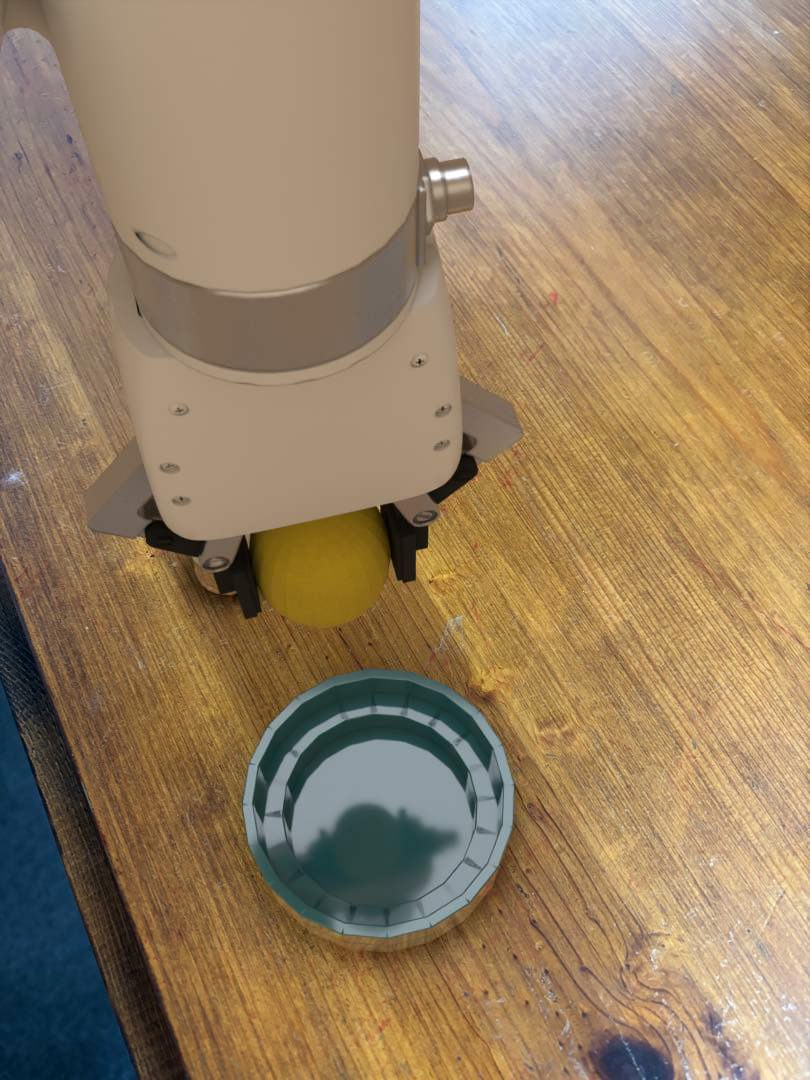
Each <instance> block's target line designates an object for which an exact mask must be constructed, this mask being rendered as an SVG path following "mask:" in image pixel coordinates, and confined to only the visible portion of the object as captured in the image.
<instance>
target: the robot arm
mask: <svg viewBox="0 0 810 1080" xmlns="http://www.w3.org/2000/svg"><path fill="white" fill-rule="evenodd" d="M19 28H21V29H29V30H31V31H34V32H37V33H38V34H39V35H40V36H42V37H43V38H44V39H45V40H46V41H47V42H48V43H49V44H50V46H51V48H52V49H53V52H54V53H55V56H56V59H57V62H58V65H59V67H60V72H61V74H62V77H63V81H64V83H65V87H66V90H67V92H68V96H69V98H70V101H71V105H72V107H73V111H74V114H75V117H76V120H77V123H78V126H79V130H80V133H81V136H82V138H83V141H84V144H85V148H86V150H87V154H88V157H89V160H90V162H91V163H90V164H91V167H92V169H93V172H94V175H95V179H96V181H97V185H98V188H99V190H100V193H101V196H102V199H103V202H104V203H103V204H104V206H105V209H106V212H107V216H108V218H109V221H110V224H111V227H112V230H113V233H114V236H115V238H116V242H117V245H118V249H117V251H116V253H115V254H114V256H113V257H112V259H111V260H110V264H109V267H108V271H107V280H106V281H107V303H108V304H107V305H108V315H109V323H110V329H111V335H112V336H111V337H112V343H113V344H112V345H113V349H114V353H115V357H116V361H117V362H116V363H117V367H118V371H119V375H120V380H121V384H122V389H123V392H124V396H125V402H126V404H127V408H128V413H129V417H130V421H131V424H132V429H133V432H134V436H133V437H132V438H131V440H130V441H129V442H128V443H127V444H126V445H125V446H124V447H123V449H122V450H121V451H120V452H119V453H117V455H116V456H115V457H114V459H113V460H112V461H111V462H110V464H109V465H107V467H106V468H105V469H104V470H103V471H102V472H101V474H100V475H98V477H97V478H96V480H94V482H92V484H91V485H90V486H89V487H88V488H87V489H86V490H85V492H84V494H83V500H84V509H85V517H86V524H87V528H88V530H89V531H92V532H95V533H98V534H105V535H109V536H115V537H120V538H124V539H125V538H126V539H131V540H136V539H137V538H143V539H145V543H146V545H147V546H148V547H150V548H152V549H157V550H160V551H161V550H162V551H166V552H170V553H176V554H179V555H184V556H189V557H191V556H192V557H196V558H198V562H199V568H200V569H201V570H202V571H204V572H208V573H213V576H214V579H215V581H216V584H217V587H218V590H219V593H220V594H219V595H222V594H226V593H230V592H235V591H236V593H237V594H236V596H237V598H238V602H239V605H240V608H241V612H242V614H243V618H244V620H249V619H253V618H258V617H259V615H258V614H259V613H263V609H262V603H261V599H260V595H259V590H258V589H259V588H258V586H257V584H256V582H255V579H254V575H253V572H252V567H251V562H250V557H249V547H248V544H247V540H246V536H245V535H246V534H250V533H255V532H260V531H265V530H270V529H275V528H280V527H284V526H289V525H294V524H298V523H303V522H308V521H312V520H317V519H321V518H326V517H330V516H335V515H339V514H344V513H348V512H353V511H357V510H362V509H366V508H371V507H375V506H377V507H378V506H379V511H380V514H381V516H382V518H383V520H384V522H385V524H386V527H387V530H388V535H389V542H390V549H391V558H390V561H391V563H392V567H393V571H394V574H395V578H396V580H397V582H400V581H401V582H402V583H403V584H407V583H411V582H416V581H417V551H421V550H425V549H429V533H430V532H429V531H430V529H429V528H430V527H429V526H431V525H432V524H434V523H436V522H437V521H438V520H439V519H440V518H441V515H442V513H441V510H440V507H439V505H440V504H442V503H443V502H444V501H445V500H446V499H448V498H449V497H451V496H452V495H453V494H454V493H456V492H457V491H459V490H460V489H461V488H462V487H464V486H465V485H467V484H468V483H469V482H470V481H472V480H473V479H475V477H476V476H477V475H478V474H479V467H478V466H479V465H481V464H482V463H485V464H488V463H489V462H491V461H492V460H493V459H495V458H497V457H498V456H499V455H500V454H502V453H504V452H505V451H506V450H508V449H509V448H510V447H512V446H513V445H515V444H516V443H518V442H520V440H521V439H522V438H523V436H524V430H523V428H522V425H521V422H520V420H519V417H518V415H517V412H516V409H515V407H514V404H513V403H512V402H511V401H509V400H507V399H505V398H503V397H502V396H500V395H498V394H496V393H494V392H492V391H490V390H489V389H486V388H485V387H483V386H481V385H479V384H477V383H475V382H474V381H472V380H469V379H468V378H466V377H464V376H463V375H461V374H460V367H459V359H458V357H459V356H458V348H457V338H456V337H457V336H456V331H455V330H456V329H455V324H454V317H453V310H452V304H451V298H450V294H449V288H448V285H447V280H446V276H445V272H444V267H443V262H442V261H443V260H442V257H441V253H440V248H439V245H438V241H437V238H436V234H435V231H434V226H435V224H436V223H441V222H442V223H443V222H446V221H447V218H448V216H450V215H455V214H460V213H466V212H471V211H473V209H474V207H475V187H474V181H473V174H472V171H471V168H470V165H469V163H468V160H467V159H466V158H465V157H459V158H452V159H448V160H442V161H439V159H438V158H437V157H435V156H432V157H427V158H424V157H423V154H422V151H421V149H420V104H421V103H420V102H421V101H420V96H421V95H420V93H421V91H420V89H421V88H420V86H421V85H420V84H421V83H420V82H421V81H420V80H421V79H420V78H421V77H420V76H421V75H420V74H421V60H420V59H421V0H0V53H1V51H2V44H3V38H4V36H5V35H6V34H7V33H8V32H10V31H12V30H14V29H19ZM192 557H191V558H192Z"/></svg>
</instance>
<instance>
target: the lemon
mask: <svg viewBox="0 0 810 1080" xmlns="http://www.w3.org/2000/svg"><path fill="white" fill-rule="evenodd" d="M249 557H250V562H251V567H252V572H253V575H254V579H255V582H256V585H257V589H259V591H260V593H261V595H262V596H263V598H264V599H265V601H266V602H267V603H268V604H269V606H271V607H272V608H273V609H274V610H275V611H276V612H277V613H278V614H279V615H280V616H282V617H284V618H286V619H287V620H288V621H291V622H292V623H295V624H298V625H301V626H305V627H308V628H318V629H328V628H333V627H334V628H335V627H339V626H343V625H345V624H347V623H350V622H352V621H354V620H356V619H357V618H358V617H360V616H361V615H363V614H364V613H365V612H366V611H368V610H369V609H370V608H371V607H372V606H373V604H374V603H375V602H376V600H377V599H378V598H379V597H380V595H381V593H382V591H383V589H384V586H385V584H386V582H387V579H388V578H389V577H388V576H389V571H390V565H391V549H390V542H389V535H388V530H387V527H386V524H385V522H384V520H383V518H382V516H381V514H380V508H379V507H378V506H375V507H371V508H366V509H362V510H357V511H353V512H348V513H344V514H339V515H335V516H330V517H326V518H321V519H317V520H312V521H308V522H303V523H298V524H294V525H289V526H284V527H280V528H275V529H270V530H265V531H260V532H255V533H250V543H249Z"/></svg>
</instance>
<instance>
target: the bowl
mask: <svg viewBox="0 0 810 1080" xmlns="http://www.w3.org/2000/svg"><path fill="white" fill-rule="evenodd" d="M515 788H516V786H515V780H514V777H513V774H512V770H511V767H510V764H509V761H508V756H507V753H506V750H505V746H504V745H503V742H502V741H501V739H500V738H499V737H498V735H497V734H496V731H494V729H493V728H492V726H491V724H489V722H488V720H487V719H486V717H485V716H484V714H483V712H481V710H480V709H478V708H477V707H476V706H474V705H473V704H472V703H471V702H470V701H469V700H467V699H466V698H465V697H463V696H462V695H461V694H459V693H458V692H457V691H456V690H455V689H453V688H452V687H451V686H450V685H448V684H445V683H442V682H439V681H437V680H435V679H432V678H429V677H427V676H424V675H422V674H419V673H416V672H415V671H410V670H398V669H385V668H373V667H370V668H369V667H368V668H365V669H360V670H355V671H352V672H346V673H341V674H337V675H333V676H331V677H329V678H327V679H324V680H323V681H322V682H320V683H318V684H316V685H314V686H312V687H311V688H309V689H307V690H305V691H303V692H302V693H299V694H298V695H296V696H295V697H294V698H293V699H292V700H291V701H290V702H289V703H288V704H287V705H286V706H285V707H284V708H283V709H282V710H281V711H280V712H279V713H278V714H277V716H276V717H275V718H273V720H272V721H271V722H270V723H269V724H268V725H267V727H266V728H265V730H264V731H263V734H262V736H261V738H260V739H259V741H258V744H257V746H256V747H255V749H254V751H253V753H252V755H251V758H250V759H249V761H248V764H247V770H246V775H245V782H244V788H243V795H242V800H241V811H242V816H243V823H244V824H243V825H244V829H245V836H246V843H247V847H248V850H249V852H250V854H251V855H252V858H253V859H254V862H255V863H256V865H257V867H258V869H259V871H260V873H261V874H262V877H263V878H264V881H265V883H266V884H267V886H268V888H269V889H270V891H271V893H272V895H273V896H274V899H275V900H276V902H277V903H278V904H279V905H280V906H281V907H282V908H283V909H284V910H285V911H286V912H287V913H288V914H289V915H290V916H291V917H292V918H294V919H295V921H296V922H297V923H299V924H300V925H301V926H302V927H303V928H304V929H305V930H306V931H307V932H309V933H310V934H313V935H315V936H318V937H319V938H322V939H324V940H327V941H328V942H331V943H332V944H335V945H337V946H339V947H342V948H344V949H347V950H355V951H356V950H357V951H365V952H367V951H368V952H378V953H392V952H397V951H401V950H406V949H409V948H414V947H417V946H422V945H426V944H429V943H431V942H433V941H435V940H436V939H438V938H440V937H441V936H443V935H444V934H446V933H447V932H449V931H450V930H452V929H453V928H456V927H457V926H459V925H460V924H461V923H463V922H464V921H466V920H467V919H468V918H469V917H470V915H472V914H473V912H474V911H475V909H476V908H477V907H478V906H479V904H480V903H481V902H482V901H483V899H484V898H485V897H486V896H487V894H488V893H489V892H490V891H491V890H492V888H493V886H494V884H495V883H496V882H495V881H496V879H497V876H498V873H499V871H500V867H501V865H502V862H503V860H504V857H505V854H506V852H507V849H508V846H509V842H510V839H511V835H512V833H513V829H514V820H515V792H516V791H515Z"/></svg>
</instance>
